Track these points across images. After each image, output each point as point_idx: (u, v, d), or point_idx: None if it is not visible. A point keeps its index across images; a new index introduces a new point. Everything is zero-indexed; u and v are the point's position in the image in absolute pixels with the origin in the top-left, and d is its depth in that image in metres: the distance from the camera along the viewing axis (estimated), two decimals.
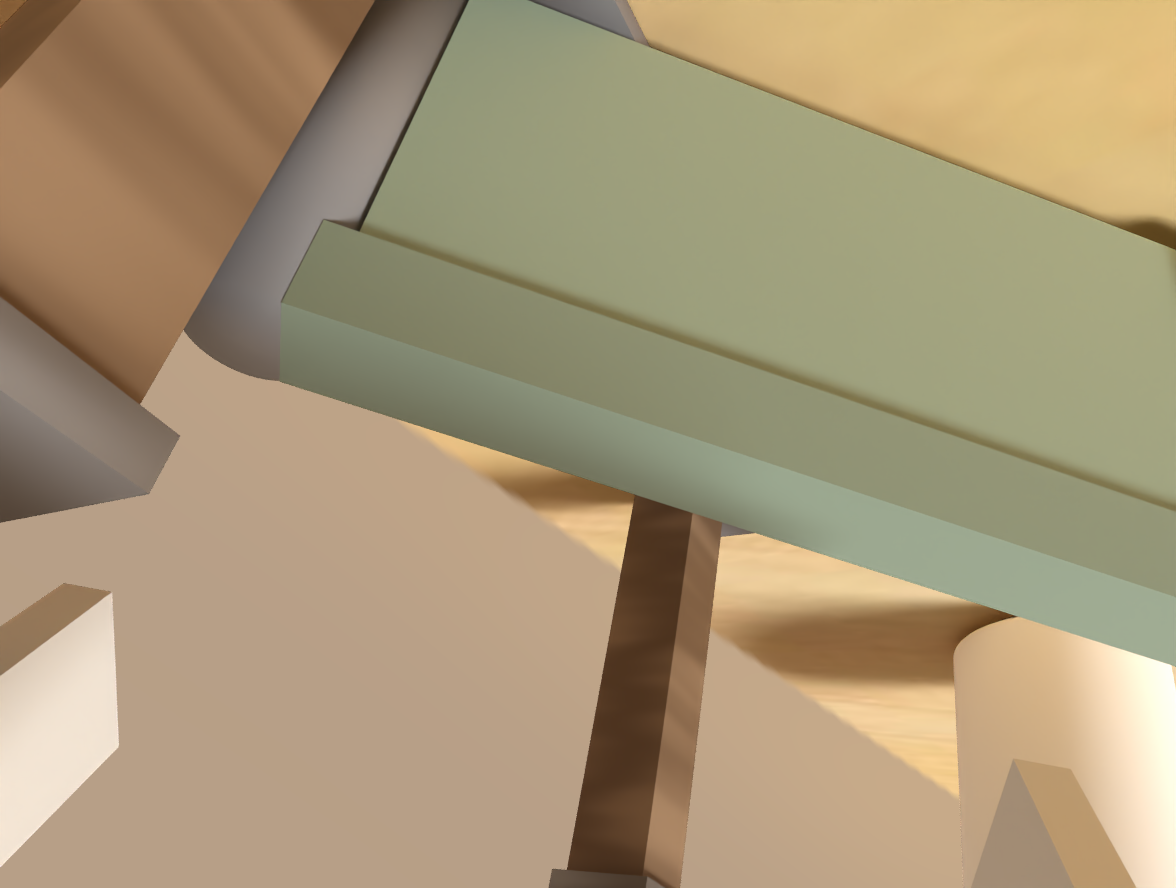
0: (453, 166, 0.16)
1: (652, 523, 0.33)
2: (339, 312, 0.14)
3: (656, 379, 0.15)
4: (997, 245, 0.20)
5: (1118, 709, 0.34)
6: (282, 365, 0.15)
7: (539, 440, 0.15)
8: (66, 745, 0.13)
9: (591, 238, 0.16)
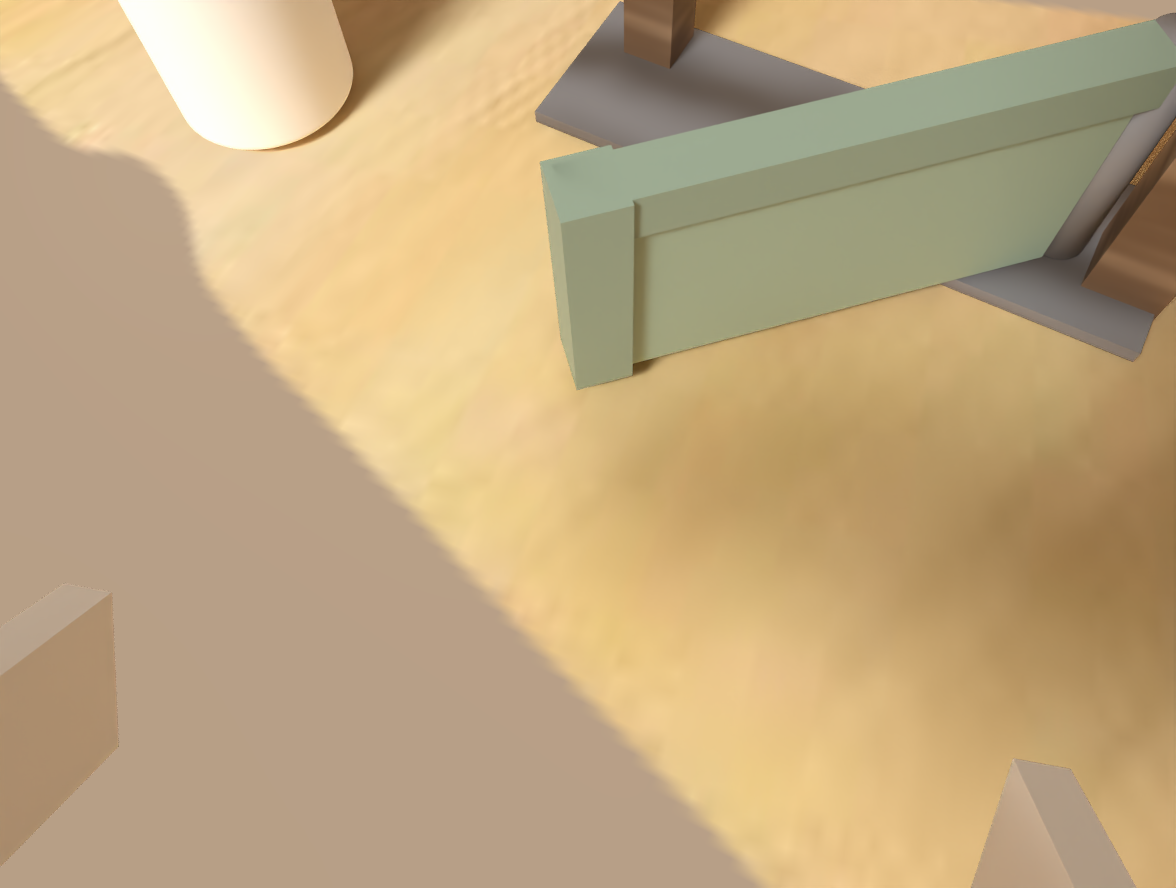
0: (1079, 165, 0.33)
1: (687, 13, 0.42)
2: (1162, 73, 0.29)
3: (1006, 127, 0.29)
4: (765, 298, 0.35)
5: (271, 78, 0.39)
6: (1160, 29, 0.29)
7: (1040, 64, 0.29)
8: (66, 745, 0.13)
9: (1013, 172, 0.32)
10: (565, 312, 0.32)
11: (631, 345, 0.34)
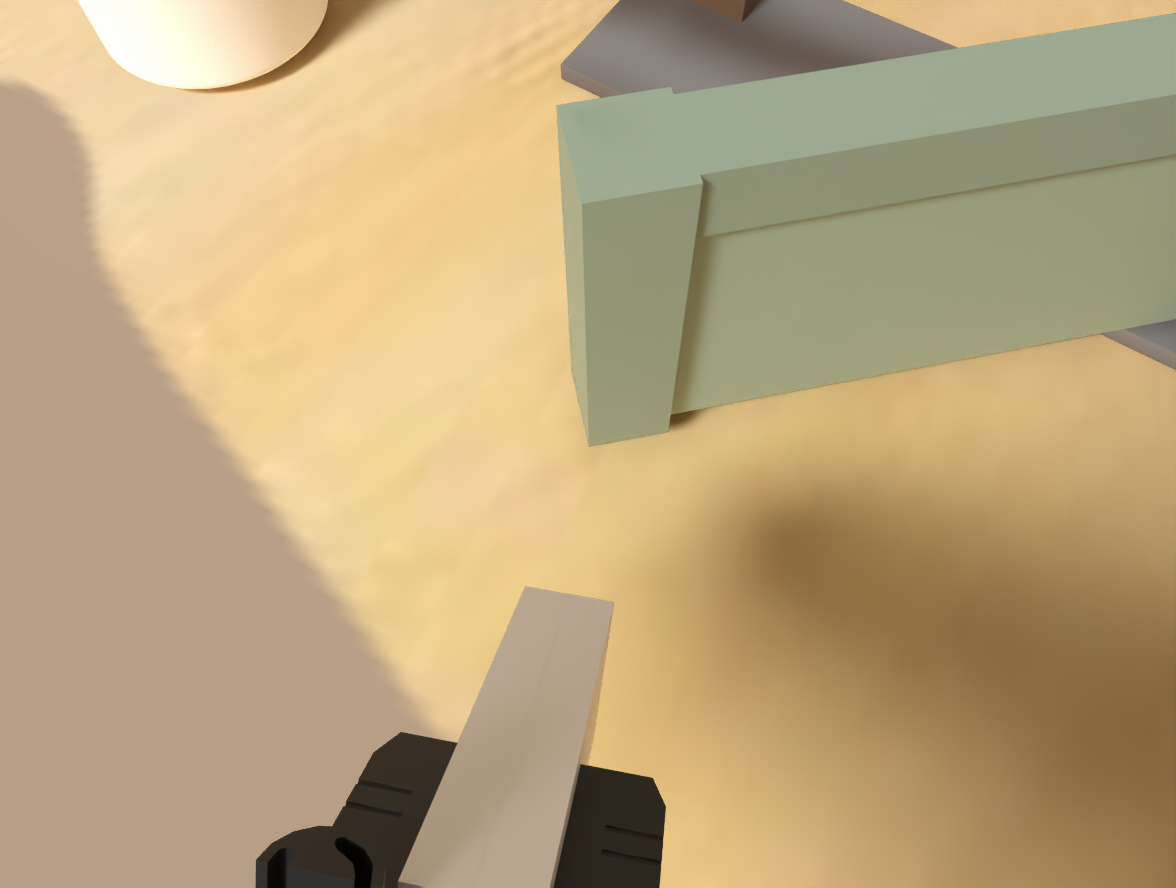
0: None
1: None
2: None
3: None
4: (867, 338, 0.24)
5: None
6: None
7: None
8: None
9: None
10: (580, 340, 0.22)
11: (671, 392, 0.24)
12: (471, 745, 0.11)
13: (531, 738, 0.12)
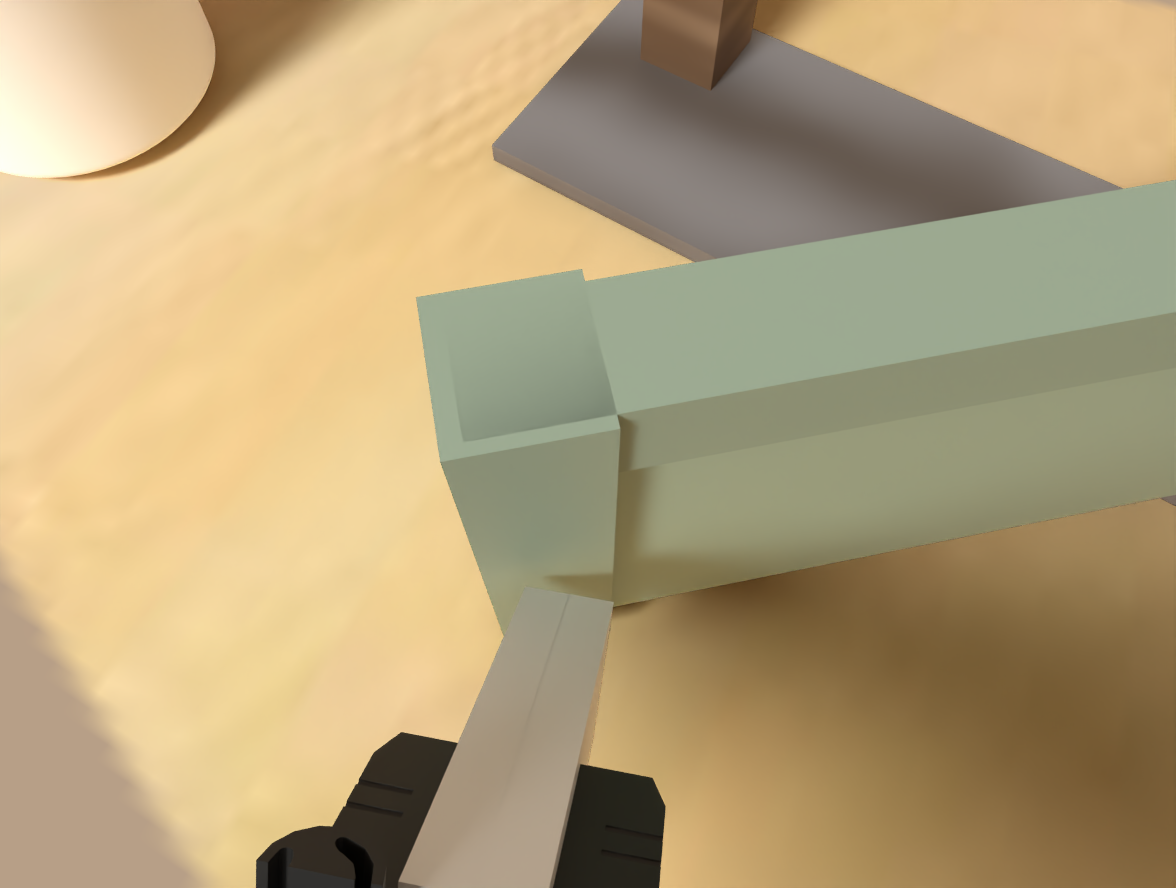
0: None
1: (744, 5, 0.26)
2: None
3: None
4: (861, 528, 0.19)
5: (43, 66, 0.23)
6: None
7: None
8: None
9: None
10: None
11: None
12: (471, 745, 0.11)
13: (531, 738, 0.12)
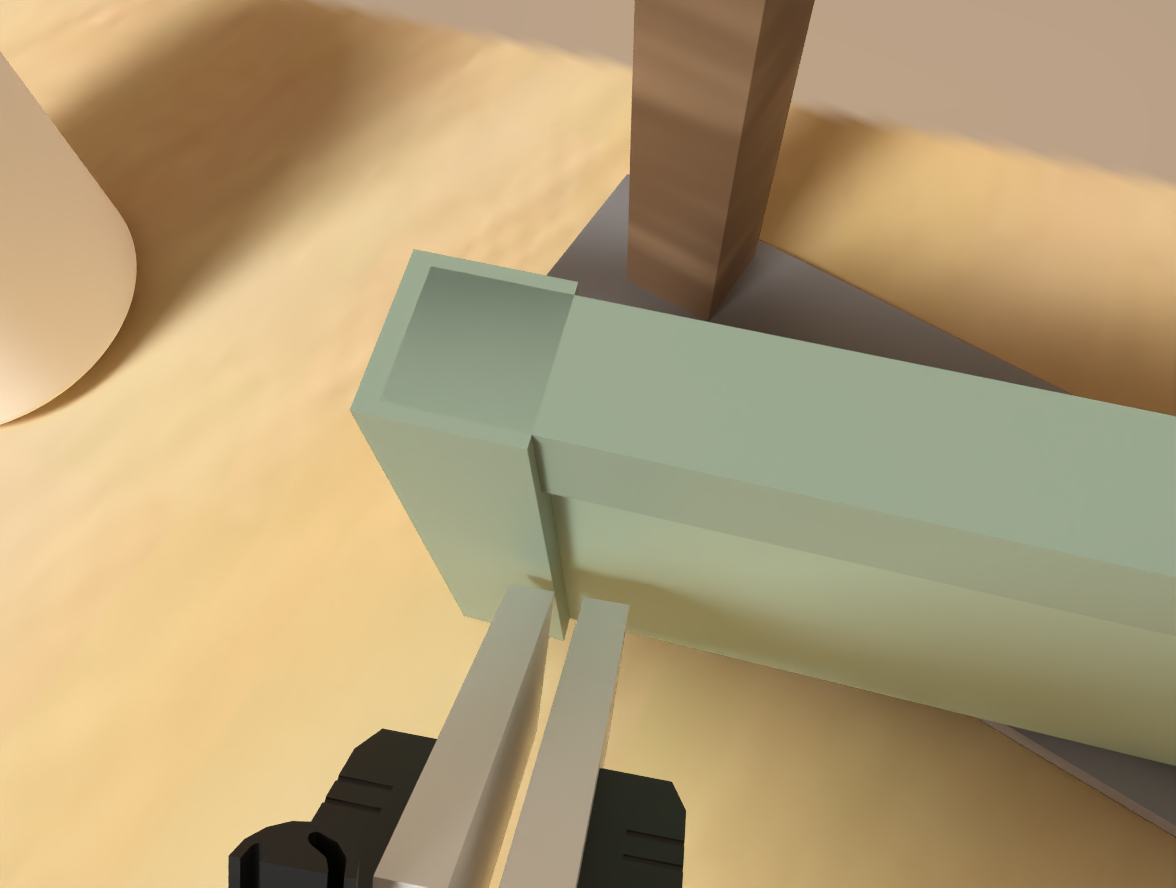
0: None
1: (747, 233, 0.22)
2: None
3: None
4: (838, 655, 0.17)
5: None
6: None
7: None
8: (529, 727, 0.15)
9: None
10: None
11: (556, 613, 0.18)
12: (450, 741, 0.11)
13: (551, 742, 0.12)
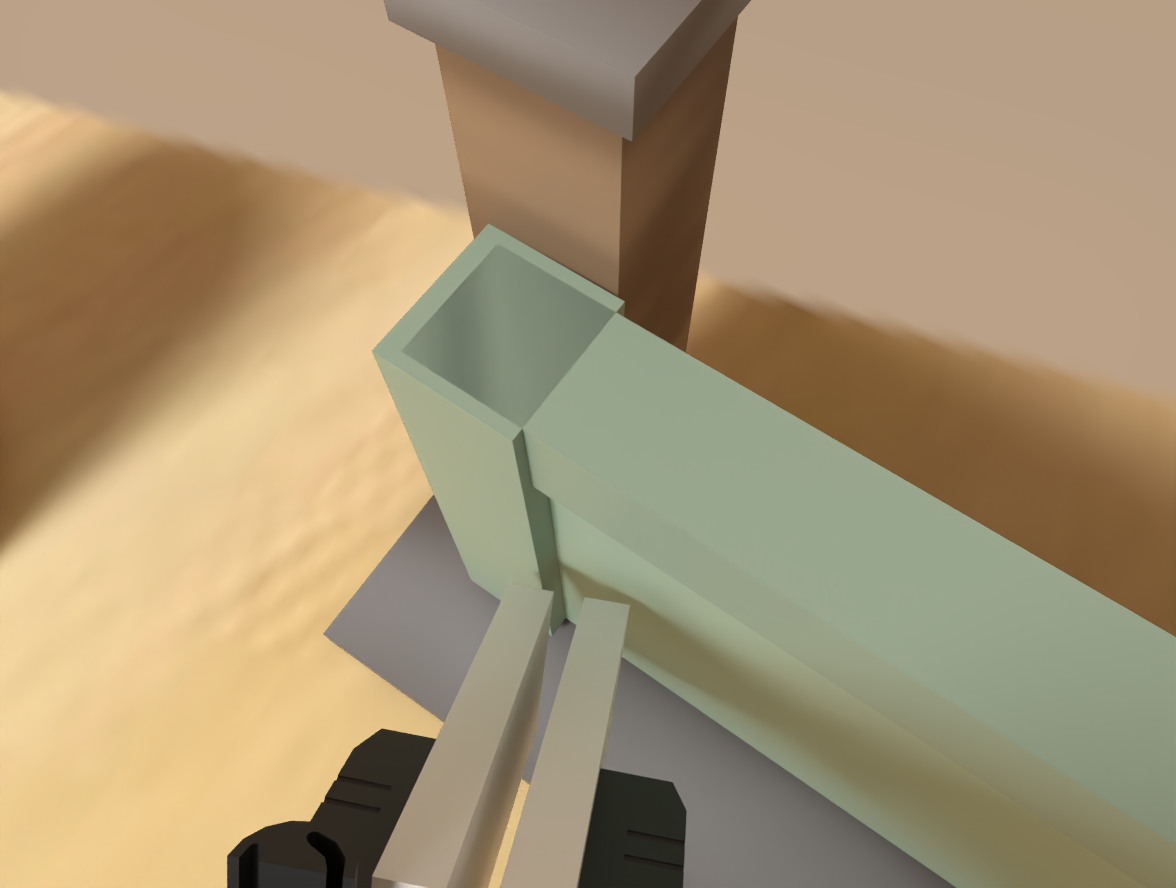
0: None
1: None
2: None
3: None
4: (797, 749, 0.17)
5: None
6: None
7: None
8: (528, 727, 0.15)
9: None
10: None
11: None
12: (450, 741, 0.11)
13: (552, 742, 0.12)
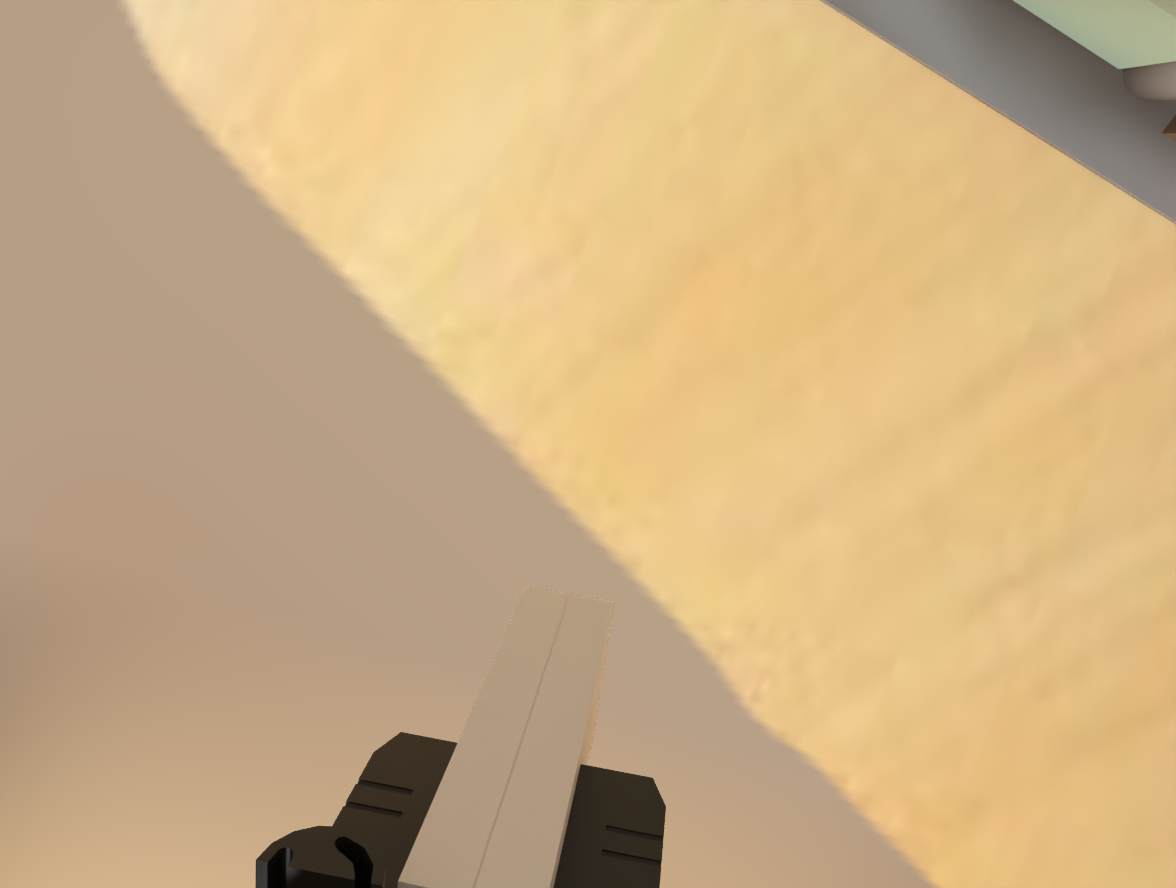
0: (1172, 38, 0.26)
1: None
2: None
3: None
4: None
5: None
6: None
7: None
8: None
9: None
10: None
11: None
12: (471, 745, 0.11)
13: (531, 738, 0.12)
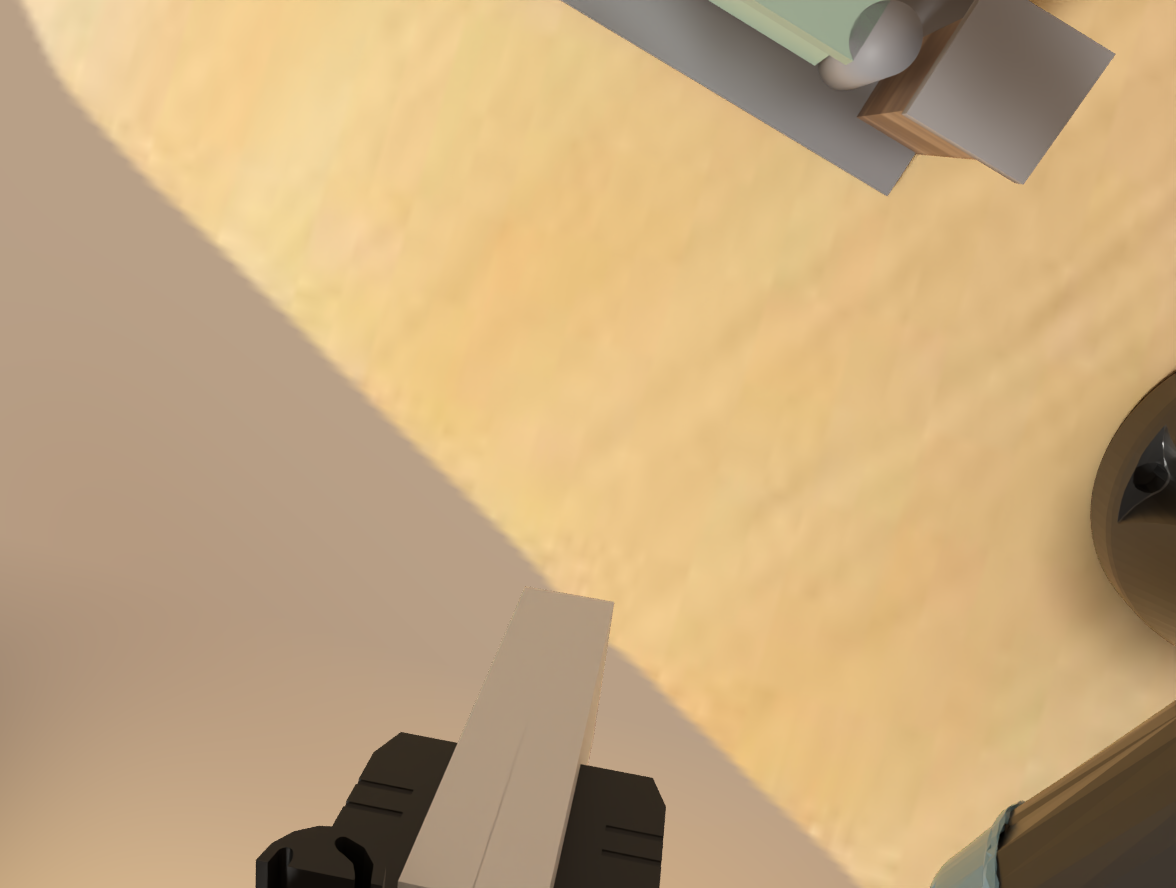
0: (806, 40, 0.33)
1: None
2: (830, 48, 0.29)
3: None
4: None
5: None
6: (881, 12, 0.29)
7: None
8: None
9: None
10: None
11: None
12: (471, 745, 0.11)
13: (531, 738, 0.12)
